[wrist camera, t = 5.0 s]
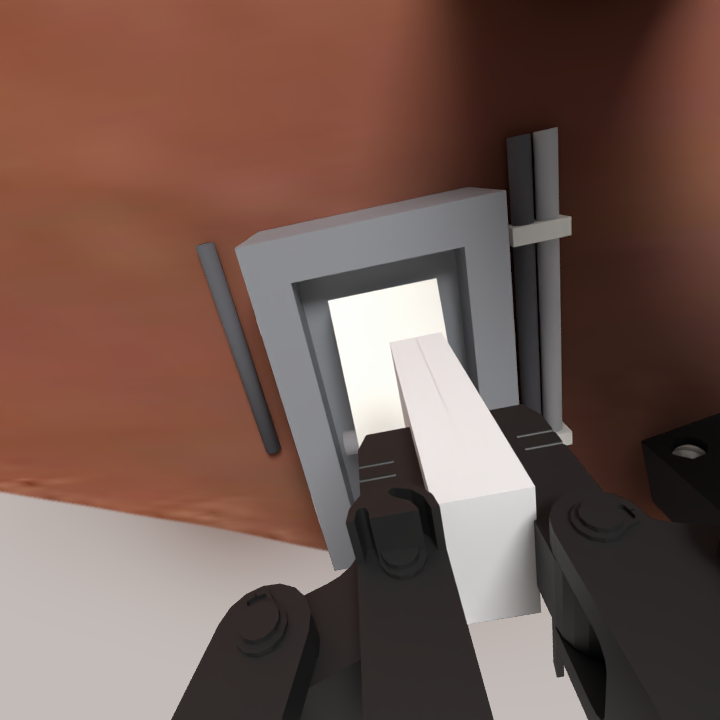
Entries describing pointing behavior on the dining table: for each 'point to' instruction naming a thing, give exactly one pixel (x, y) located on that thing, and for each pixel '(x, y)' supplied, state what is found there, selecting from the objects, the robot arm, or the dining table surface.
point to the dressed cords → (548, 260)
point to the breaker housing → (366, 274)
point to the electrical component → (686, 472)
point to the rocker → (380, 350)
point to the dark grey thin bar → (238, 344)
